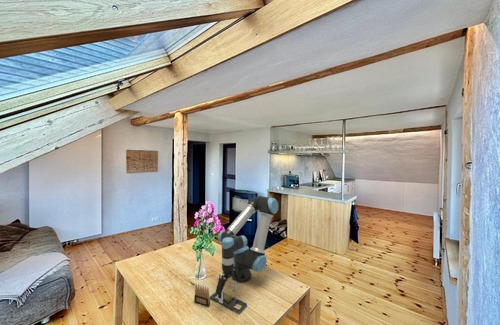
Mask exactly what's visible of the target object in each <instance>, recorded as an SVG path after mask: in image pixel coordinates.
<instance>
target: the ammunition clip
mask: <svg viewBox="0 0 500 325" xmlns="http://www.w3.org/2000/svg"><path fill="white" fill-rule="evenodd" d="M210 300H211V299H210V289H209V287H208V286H207V287H206V286H204V285H200V284H197V283H195V288H194V300H193V302H194V304H197V305H200V306H202V307H203V306H204V307H207V308H210V306H211V302H210Z"/></svg>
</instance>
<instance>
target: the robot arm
mask: <svg viewBox="0 0 500 325" xmlns="http://www.w3.org/2000/svg"><path fill="white" fill-rule="evenodd" d="M278 210H279V203H278V200H277V199H276V198H274V197H270V196H261V195H260V196H259V195H258V196H255V197H253V198H252V199H250V200H249V201H248V202H247V203H246V205H245V206H244V208H243V210H242V211H241V212H240V214H238V216H236V217H235V219H234V220H233V221H232V223H231V224H230V225H229V226H228V227H227V229H225V231H220V232H219V233H218V235H217V240H218V242H219V243H221V270H222V273H221V274H219V276H218V282H217V285H216V289H215V292H216V293H218V295H217V299H219V302H220V303H223V290H224V288H225V285H226V282H227V281H228V280H229V279H230V278H231V279H232V291H234V292H237V284H238V283H245V282H248V281H250V280H251V278H252V273H251V271H252V272H257V273H260V272H262V271H263V270H264V269H265V267H266V265H267V263H268V262H267V260H268V259H267V257H266V252H265V246H266V242H267V238H268V237H267V236H268V234H269V233H268V232H269V228H270V225H271V220H272V218H273V217H274V216H275V214H277V212H278ZM256 212H258V213H259V215H260V216H259V220H258V224H257V227H256V232H255V236H254V239H253V245H252V247H250V248H249V246H248V238H247V237H246V236H245V235H244V234H243V235H237V234H238V232H240V230H241V229H242V228H243V227H244V225H245V224H246V222H247V221H248V220H249V219H250V218H251V216H252V215H253V214H256Z"/></svg>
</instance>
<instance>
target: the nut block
mask: <svg viewBox="0 0 500 325" xmlns="http://www.w3.org/2000/svg"><path fill="white" fill-rule="evenodd" d="M233 291H234V290H231V289H227V290H225V291H224V302H225V303H227V304H229V303H231V302H232V301H233V297H234V294H233V293H234V292H233Z"/></svg>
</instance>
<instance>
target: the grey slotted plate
mask: <svg viewBox="0 0 500 325" xmlns="http://www.w3.org/2000/svg"><path fill="white" fill-rule="evenodd" d="M222 292H223V291H222ZM224 292H225V291H224ZM224 292H223V303H220V302H219V298H218V293H216V291H215V292H214V293H212V294H211V295H209V297H210V300H211V301H213V302H214V303H216V304H218V305H221V306H222V307H224V308H226V309H227V310H229V311H231V312H234V313H235V314H238V315H241V314H242V312H244V310H246V309H247V307H248V303H247V302H245V301H242V300H240V299H238V298H237V297H235V296H233V301H232V302H231V303H229V304H227V303H225V302H224ZM237 305H240V306H241V307H240V308H239V309H238V307H235V306H237Z"/></svg>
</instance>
